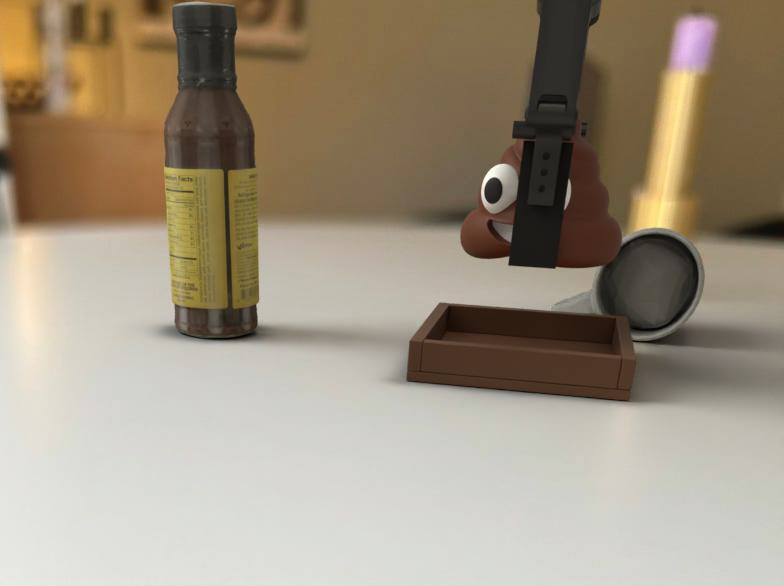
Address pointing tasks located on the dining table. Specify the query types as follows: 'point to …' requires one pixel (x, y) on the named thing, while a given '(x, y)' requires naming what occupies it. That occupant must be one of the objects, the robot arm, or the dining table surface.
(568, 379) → the walnut tray
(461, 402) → the dining table surface
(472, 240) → the poop emoji
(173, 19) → the sauce bottle
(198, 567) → the dining table surface
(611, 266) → the ceramic mug
